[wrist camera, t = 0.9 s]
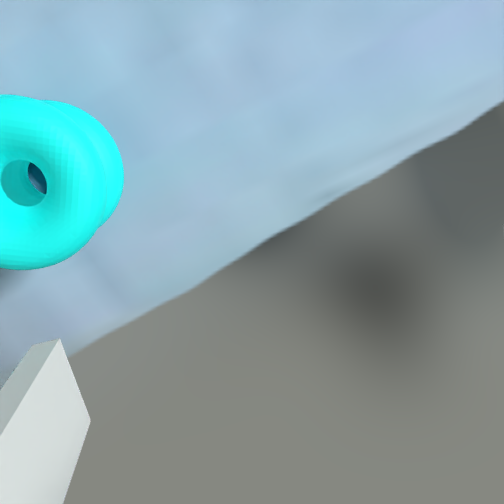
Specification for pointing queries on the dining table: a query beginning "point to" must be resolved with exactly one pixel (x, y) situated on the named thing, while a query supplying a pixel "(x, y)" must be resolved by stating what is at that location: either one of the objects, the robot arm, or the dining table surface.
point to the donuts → (53, 181)
